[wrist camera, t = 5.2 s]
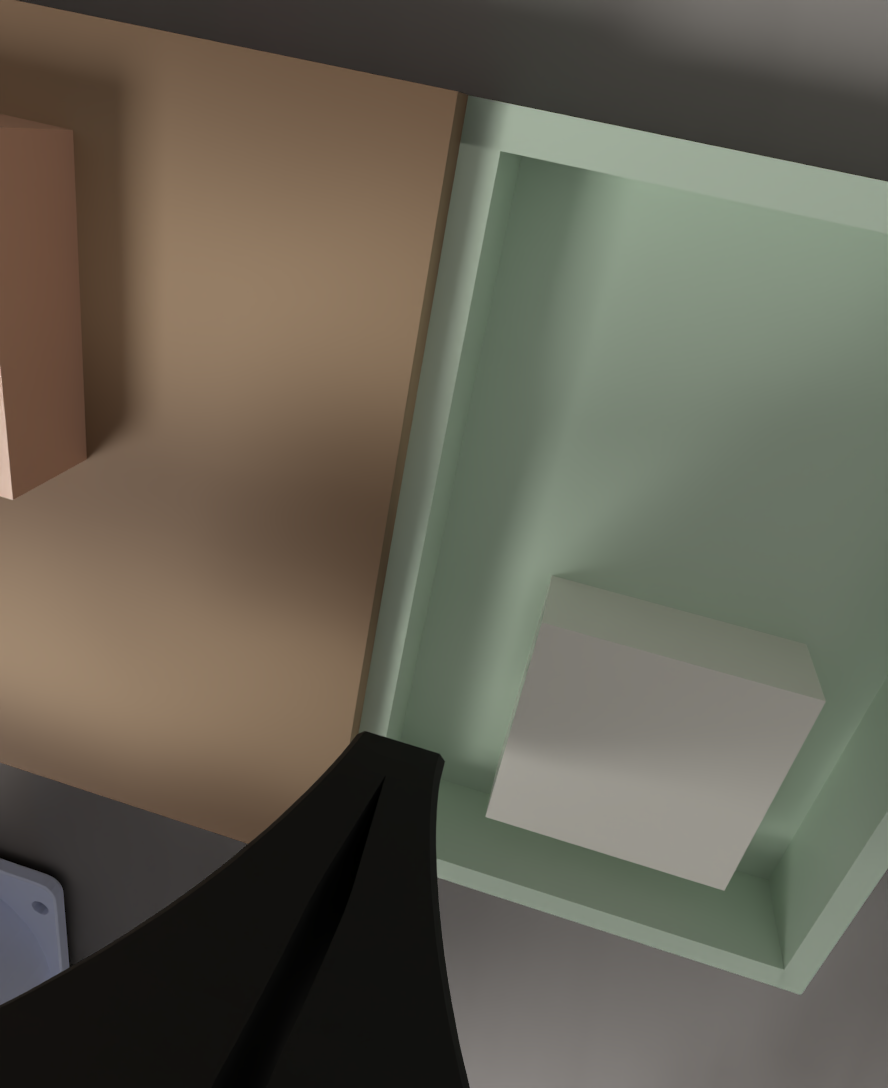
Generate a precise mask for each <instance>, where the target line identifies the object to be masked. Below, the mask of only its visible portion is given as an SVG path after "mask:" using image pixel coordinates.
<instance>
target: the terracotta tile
mask: <svg viewBox="0 0 888 1088" xmlns="http://www.w3.org/2000/svg"><path fill="white" fill-rule="evenodd" d="M86 459H87V451H86V428H85V404H84V380H83V356H82V332H81V308H80V284H79V261H78V237H77V213H76V189H75V165H74V141H73V130H70V129H66V128H62V127H57V126H53V125H48V124H44V123H39V122H35V121H30V120H26V119H21V118H17V117H13V116H8V115H4V114H0V496H1V497H4V498H8V499H11V500H14V499H16V498H18V497H19V496H21V495H23V494H25V493H27V492H28V491H30V490H32V489H34V488H36V487H37V486H39V485H41V484H43V483H45V482H47V481H48V480H50V479H52V478H54V477H56V476H57V475H59V474H61V473H63V472H65V471H67V470H68V469H70V468H72V467H74V466H76V465H77V464H79V463H81V462H83V461H85V460H86Z"/></svg>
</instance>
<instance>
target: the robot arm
mask: <svg viewBox="0 0 888 1088" xmlns="http://www.w3.org/2000/svg"><path fill="white" fill-rule="evenodd" d="M444 764H445V761H444V759H443V758H442V756H441V755H440V754H439V753H436V752H433V751H429V750H426V749H423V748H420V747H416V746H413V745H410V744H406V743H403V742H400V741H397V740H393V739H390V738H387V737H383V736H380V735H377V734H374V733H370V732H367V731H363V732H361V733H359V734H357V735H356V736H355V738H354V739H353V740H352V741H351V743H350V744H349V745H348V746H347V748H346V749H345V750H344V751H343V752H342V753H341V755H340V756H339V757H338V758H337V759H336V760H335V761H334V763H333V764H332V765H331V766H330V767H329V768H328V769H327V770H326V771H325V772H324V773H323V774H322V775H321V777H320V778H319V779H318V780H317V781H316V782H315V783H314V784H313V785H312V786H311V787H310V788H309V789H308V790H307V791H306V792H305V793H304V794H303V795H302V796H301V797H300V798H299V799H297V800H296V801H295V802H294V803H293V804H292V805H291V806H290V807H289V808H288V809H287V810H286V811H285V812H284V813H283V814H282V815H281V816H280V817H279V818H278V819H276V820H275V821H274V822H273V823H272V824H271V825H270V826H269V827H268V828H266V829H265V830H264V831H263V832H262V833H261V834H259V835H258V836H257V837H256V838H255V839H254V840H252V841H251V842H250V843H249V844H248V845H246V846H245V847H244V848H243V849H242V850H241V851H239V852H238V853H237V854H236V855H235V856H234V857H232V858H231V859H230V860H229V861H227V862H226V863H225V864H224V865H222V866H221V867H220V868H219V869H217V870H216V871H215V872H213V873H212V874H211V875H210V876H208V877H207V878H206V879H204V880H203V881H202V882H200V883H199V884H198V885H196V886H195V887H194V888H192V889H191V890H189V891H188V892H187V893H185V894H184V895H183V896H181V897H180V898H178V899H177V900H176V901H174V902H173V903H171V904H170V905H169V906H167V907H166V908H164V909H163V910H161V911H160V912H158V913H157V914H155V915H154V916H152V917H151V918H149V919H148V920H146V921H145V922H143V923H142V924H140V925H139V926H137V927H136V928H134V929H133V930H131V931H130V932H128V933H127V934H125V935H123V936H122V937H120V938H119V939H117V940H115V941H114V942H112V943H111V944H109V945H107V946H106V947H104V948H102V949H101V950H99V951H97V952H96V953H94V954H92V955H90V956H89V957H87V958H85V959H83V960H82V961H80V962H78V963H76V964H75V965H73V966H71V967H69V956H68V943H67V931H66V919H65V906H64V894H63V889H62V886H61V884H60V883H59V882H58V881H57V880H56V879H55V878H54V877H52V876H50V875H48V874H45V873H42V872H39V871H36V870H33V869H30V868H28V867H25V866H22V865H19V864H16V863H13V862H10V861H7V860H4V859H1V858H0V1088H470V1087H469V1083H468V1078H467V1074H466V1070H465V1066H464V1062H463V1057H462V1053H461V1049H460V1044H459V1039H458V1034H457V1029H456V1023H455V1018H454V1013H453V1008H452V1002H451V996H450V990H449V984H448V977H447V971H446V964H445V957H444V949H443V941H442V932H441V921H440V911H439V900H438V885H437V857H436V822H437V803H438V793H439V785H440V780H441V776H442V772H443V768H444Z"/></svg>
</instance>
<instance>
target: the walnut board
mask: <svg viewBox="0 0 888 1088" xmlns="http://www.w3.org/2000/svg"><path fill="white" fill-rule="evenodd" d="M467 100H468V95H467V94H464V93H461V92H458V91H453V90H448V89H443V88H438V87H434V86H429V85H424V84H419V83H414V82H409V81H404V80H400V79H395V78H390V77H385V76H380V75H375V74H371V73H366V72H361V71H356V70H351V69H346V68H341V67H337V66H332V65H327V64H322V63H317V62H312V61H307V60H303V59H298V58H293V57H288V56H283V55H278V54H274V53H269V52H264V51H259V50H254V49H249V48H244V47H240V46H235V45H230V44H225V43H220V42H215V41H211V40H206V39H201V38H196V37H191V36H186V35H181V34H177V33H172V32H167V31H162V30H157V29H152V28H147V27H143V26H138V25H133V24H128V23H123V22H118V21H114V20H109V19H104V18H99V17H94V16H89V15H84V14H80V13H75V12H70V11H65V10H60V9H55V8H50V7H46V6H41V5H36V4H31V3H26V2H21V1H17V0H0V114H4V115H8V116H13V117H17V118H21V119H26V120H30V121H35V122H39V123H44V124H48V125H53V126H57V127H62V128H66V129H70V130H73V141H74V165H75V189H76V213H77V237H78V261H79V284H80V308H81V332H82V356H83V380H84V404H85V428H86V451H87V459H86V460H85V461H83V462H81V463H79V464H77V465H76V466H74V467H72V468H70V469H68V470H67V471H65V472H63V473H61V474H59V475H57V476H56V477H54V478H52V479H50V480H48V481H47V482H45V483H43V484H41V485H39V486H37V487H36V488H34V489H32V490H30V491H28V492H27V493H25V494H23V495H21V496H19V497H18V498H16V499H14V500H11V499H8V498H4V497H1V496H0V763H3V764H6V765H9V766H12V767H15V768H18V769H21V770H24V771H27V772H30V773H33V774H37V775H40V776H43V777H46V778H49V779H52V780H55V781H58V782H61V783H64V784H67V785H70V786H73V787H76V788H79V789H82V790H85V791H88V792H91V793H95V794H98V795H101V796H104V797H107V798H110V799H113V800H116V801H119V802H122V803H125V804H128V805H131V806H134V807H137V808H140V809H143V810H146V811H149V812H153V813H156V814H159V815H162V816H165V817H168V818H171V819H174V820H177V821H180V822H183V823H186V824H189V825H192V826H195V827H198V828H201V829H204V830H207V831H211V832H214V833H217V834H220V835H223V836H226V837H229V838H232V839H235V840H238V841H241V842H244V843H247V844H249V843H250V842H251V841H252V840H254V839H255V838H256V837H257V836H258V835H259V834H261V833H262V832H263V831H264V830H265V829H266V828H268V827H269V826H270V825H271V824H272V823H273V822H274V821H275V820H276V819H278V818H279V817H280V816H281V815H282V814H283V813H284V812H285V811H286V810H287V809H288V808H289V807H290V806H291V805H292V804H293V803H294V802H295V801H296V800H297V799H299V798H300V797H301V796H302V795H303V794H304V793H305V792H306V791H307V790H308V789H309V788H310V787H311V786H312V785H313V784H314V783H315V782H316V781H317V780H318V779H319V778H320V777H321V775H322V774H323V773H324V772H325V771H326V770H327V769H328V768H329V767H330V766H331V765H332V764H333V763H334V761H335V760H336V759H337V758H338V757H339V756H340V755H341V753H342V752H343V751H344V750H345V749H346V748H347V746H348V745H349V744H350V743H351V741H352V740H353V739H354V738H355V736H356V735H357V734H358V733H359V728H360V722H361V716H362V710H363V704H364V699H365V693H366V687H367V681H368V675H369V670H370V664H371V658H372V652H373V646H374V640H375V635H376V629H377V623H378V617H379V611H380V606H381V600H382V594H383V588H384V582H385V577H386V571H387V565H388V559H389V553H390V548H391V542H392V536H393V530H394V524H395V518H396V513H397V507H398V501H399V495H400V489H401V484H402V478H403V472H404V466H405V460H406V455H407V449H408V443H409V437H410V431H411V426H412V420H413V414H414V408H415V402H416V397H417V391H418V385H419V379H420V373H421V367H422V362H423V356H424V350H425V344H426V338H427V333H428V327H429V321H430V315H431V309H432V304H433V298H434V292H435V286H436V280H437V275H438V269H439V263H440V257H441V251H442V246H443V240H444V234H445V228H446V222H447V216H448V211H449V205H450V199H451V193H452V187H453V182H454V176H455V170H456V164H457V158H458V153H459V147H460V141H461V135H462V129H463V124H464V118H465V112H466V106H467Z"/></svg>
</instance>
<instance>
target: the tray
mask: <svg viewBox="0 0 888 1088" xmlns="http://www.w3.org/2000/svg"><path fill="white" fill-rule="evenodd" d="M551 576H556V577H560V578H563V579H567V580H571V581H574V582H578V583H582V584H585V585H589V586H593V587H597V588H600V589H604V590H608V591H611V592H615V593H619V594H622V595H626V596H630V597H634V598H637V599H641V600H645V601H648V602H652V603H656V604H659V605H663V606H667V607H671V608H674V609H678V610H682V611H685V612H689V613H693V614H696V615H700V616H704V617H708V618H711V619H715V620H719V621H722V622H726V623H730V624H733V625H737V626H741V627H745V628H748V629H752V630H756V631H759V632H763V633H767V634H770V635H774V636H778V637H782V638H785V639H789V640H793V641H796V642H800V643H804V644H807V647H808V650H809V653H810V656H811V659H812V662H813V665H814V667H815V670H816V673H817V676H818V679H819V682H820V685H821V688H822V691H823V694H824V697H825V700H826V702H825V704H824V706H823V708H822V710H821V711H820V713H819V715H818V717H817V719H816V721H815V723H814V725H813V726H812V728H811V730H810V732H809V734H808V736H807V738H806V739H805V741H804V743H803V745H802V747H801V749H800V751H799V752H798V754H797V756H796V758H795V760H794V762H793V764H792V766H791V767H790V769H789V771H788V773H787V775H786V777H785V779H784V780H783V782H782V784H781V786H780V788H779V790H778V792H777V794H776V795H775V797H774V799H773V801H772V803H771V805H770V807H769V808H768V810H767V812H766V814H765V816H764V818H763V820H762V821H761V823H760V825H759V827H758V829H757V831H756V833H755V835H754V836H753V838H752V840H751V842H750V844H749V846H748V848H747V849H746V851H745V853H744V855H743V857H742V859H741V861H740V862H739V864H738V866H737V868H736V870H735V872H734V874H733V876H732V877H731V879H730V881H729V883H728V885H727V887H726V889H725V890H724V891H723V890H720V889H717V888H714V887H710V886H707V885H704V884H701V883H697V882H694V881H691V880H688V879H685V878H681V877H678V876H675V875H672V874H668V873H665V872H662V871H659V870H655V869H652V868H649V867H646V866H642V865H639V864H636V863H633V862H630V861H626V860H623V859H620V858H617V857H613V856H610V855H607V854H604V853H600V852H597V851H594V850H591V849H587V848H584V847H581V846H578V845H575V844H571V843H568V842H565V841H562V840H558V839H555V838H552V837H549V836H545V835H542V834H539V833H536V832H532V831H529V830H526V829H523V828H520V827H516V826H513V825H510V824H507V823H503V822H500V821H497V820H494V819H490V818H487V817H485V816H486V812H487V807H488V803H489V799H490V795H491V790H492V786H493V782H494V777H495V773H496V769H497V765H498V760H499V757H500V753H501V750H502V746H503V743H504V739H505V736H506V732H507V729H508V725H509V722H510V718H511V715H512V712H513V708H514V705H515V701H516V698H517V694H518V691H519V687H520V684H521V680H522V677H523V673H524V670H525V666H526V663H527V659H528V656H529V653H530V649H531V646H532V642H533V639H534V635H535V632H536V628H537V625H538V621H539V618H540V614H541V611H542V607H543V604H544V600H545V597H546V594H547V590H548V587H549V583H550V580H551ZM363 731H367V732H370V733H374V734H377V735H380V736H383V737H387V738H390V739H393V740H397V741H400V742H403V743H406V744H410V745H413V746H416V747H420V748H423V749H426V750H429V751H433V752H436V753H439V754H440V755H441V756H442V758H443V759H444V761H445V764H444V768H443V772H442V776H441V780H440V785H439V793H438V803H437V822H436V857H437V877H438V878H441V879H444V880H447V881H450V882H453V883H456V884H459V885H462V886H465V887H468V888H472V889H475V890H478V891H481V892H484V893H487V894H490V895H493V896H496V897H499V898H503V899H506V900H509V901H512V902H515V903H518V904H521V905H524V906H527V907H530V908H533V909H537V910H540V911H543V912H546V913H549V914H552V915H555V916H558V917H561V918H564V919H567V920H571V921H574V922H577V923H580V924H583V925H586V926H589V927H592V928H595V929H598V930H601V931H605V932H608V933H611V934H614V935H617V936H620V937H623V938H626V939H629V940H632V941H635V942H639V943H642V944H645V945H648V946H651V947H654V948H657V949H660V950H663V951H666V952H669V953H673V954H676V955H679V956H682V957H685V958H688V959H691V960H694V961H697V962H700V963H703V964H707V965H710V966H713V967H716V968H719V969H722V970H725V971H728V972H731V973H734V974H737V975H741V976H744V977H747V978H750V979H753V980H756V981H759V982H762V983H765V984H768V985H771V986H775V987H778V988H781V989H784V990H787V991H790V992H793V993H796V994H799V995H802V993H803V992H804V990H805V989H806V987H807V986H808V984H809V983H810V981H811V980H812V978H813V977H814V976H815V974H816V973H817V971H818V970H819V968H820V967H821V965H822V964H823V962H824V961H825V959H826V958H827V957H828V955H829V954H830V952H831V951H832V949H833V948H834V946H835V945H836V943H837V942H838V940H839V939H840V938H841V936H842V935H843V933H844V932H845V930H846V929H847V927H848V926H849V924H850V923H851V921H852V920H853V919H854V917H855V916H856V914H857V913H858V911H859V910H860V908H861V907H862V905H863V904H864V902H865V901H866V899H867V898H868V897H869V895H870V894H871V892H872V891H873V889H874V888H875V886H876V885H877V883H878V882H879V880H880V879H881V878H882V876H883V875H884V873H885V872H886V870H887V869H888V182H887V181H882V180H877V179H872V178H867V177H863V176H858V175H853V174H848V173H843V172H838V171H834V170H829V169H824V168H819V167H814V166H809V165H804V164H800V163H795V162H790V161H785V160H780V159H775V158H771V157H766V156H761V155H756V154H751V153H746V152H742V151H737V150H732V149H727V148H722V147H717V146H712V145H708V144H703V143H698V142H693V141H688V140H683V139H679V138H674V137H669V136H664V135H659V134H654V133H649V132H645V131H640V130H635V129H630V128H625V127H620V126H616V125H611V124H606V123H601V122H596V121H591V120H587V119H582V118H577V117H572V116H567V115H562V114H557V113H553V112H548V111H543V110H538V109H533V108H528V107H524V106H519V105H514V104H509V103H504V102H499V101H494V100H490V99H485V98H480V97H475V96H470V95H468V100H467V106H466V112H465V118H464V124H463V129H462V135H461V141H460V147H459V153H458V158H457V164H456V170H455V176H454V182H453V187H452V193H451V199H450V205H449V211H448V216H447V222H446V228H445V234H444V240H443V246H442V251H441V257H440V263H439V269H438V275H437V280H436V286H435V292H434V298H433V304H432V309H431V315H430V321H429V327H428V333H427V338H426V344H425V350H424V356H423V362H422V367H421V373H420V379H419V385H418V391H417V397H416V402H415V408H414V414H413V420H412V426H411V431H410V437H409V443H408V449H407V455H406V460H405V466H404V472H403V478H402V484H401V489H400V495H399V501H398V507H397V513H396V518H395V524H394V530H393V536H392V542H391V548H390V553H389V559H388V565H387V571H386V577H385V582H384V588H383V594H382V600H381V606H380V611H379V617H378V623H377V629H376V635H375V640H374V646H373V652H372V658H371V664H370V670H369V675H368V681H367V687H366V693H365V699H364V704H363V710H362V716H361V722H360V728H359V733H361V732H363ZM359 733H358V734H359Z"/></svg>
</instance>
